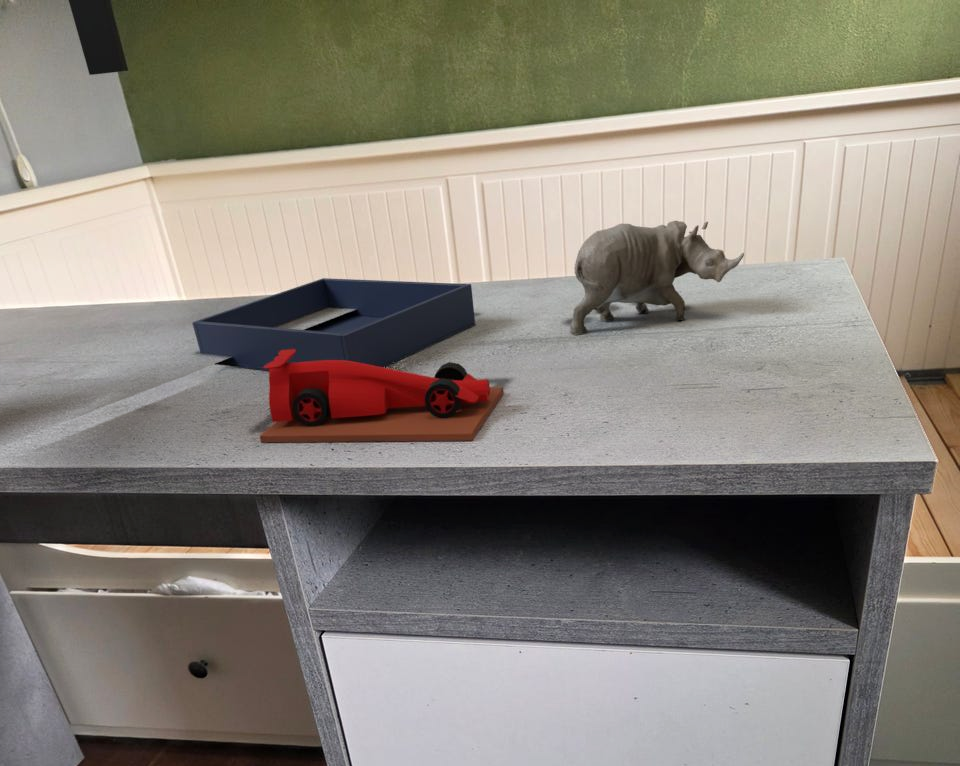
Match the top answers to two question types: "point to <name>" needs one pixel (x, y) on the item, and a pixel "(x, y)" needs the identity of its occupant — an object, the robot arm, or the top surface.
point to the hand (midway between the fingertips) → (49, 77)
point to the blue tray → (339, 322)
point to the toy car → (363, 389)
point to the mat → (390, 425)
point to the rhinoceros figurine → (642, 268)
